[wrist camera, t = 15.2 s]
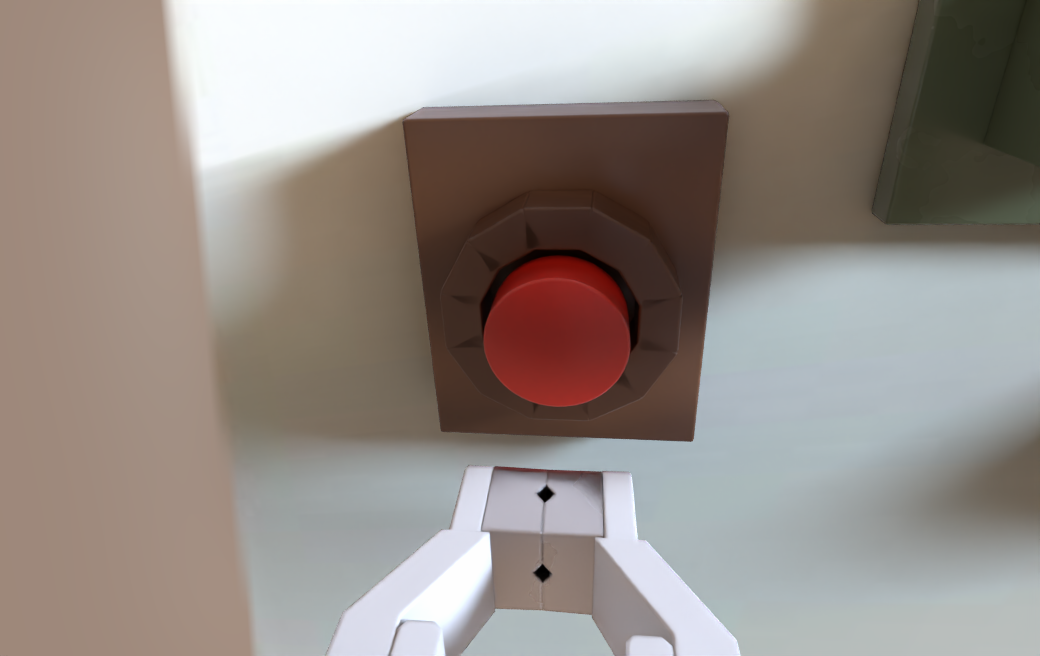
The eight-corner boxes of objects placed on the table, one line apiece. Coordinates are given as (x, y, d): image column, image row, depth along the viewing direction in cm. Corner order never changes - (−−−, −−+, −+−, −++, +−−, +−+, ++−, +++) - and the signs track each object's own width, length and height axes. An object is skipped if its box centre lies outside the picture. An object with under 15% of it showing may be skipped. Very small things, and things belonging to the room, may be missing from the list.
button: (625, 376, 19) (627, 410, 18) (496, 373, 20) (487, 405, 18) (631, 254, 17) (633, 279, 16) (488, 253, 18) (477, 278, 16)
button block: (686, 406, 24) (700, 478, 20) (452, 398, 25) (428, 465, 21) (716, 99, 19) (743, 123, 15) (421, 107, 20) (381, 131, 16)
